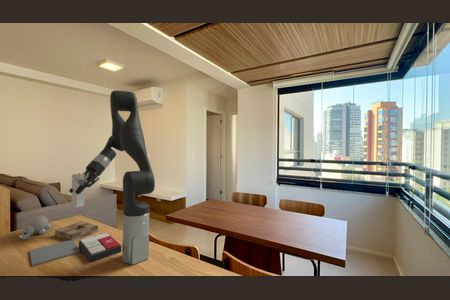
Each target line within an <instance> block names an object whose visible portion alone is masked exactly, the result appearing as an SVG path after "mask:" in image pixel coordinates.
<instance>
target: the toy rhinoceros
mask: <svg viewBox="0 0 450 300" xmlns="http://www.w3.org/2000/svg"><path fill="white" fill-rule="evenodd" d="M51 228H52V224H51V223H49V220H48V218H47V217H46V216H45V215H43V214H42V215H41V214H39V215H38V214H37V215H34V216H32V217H30V219H28V221H27V224H26V226H25V227H20V229H21V231H20V232H21V234H19V238H20V239H22V240H23V241H25V240H28V239H29V238H30V236H31V235H37V234H38V235H40V236H41V235H44V234H45V233H46V232H47V230H50V229H51Z"/></svg>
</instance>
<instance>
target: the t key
mask: <svg viewBox="0 0 450 300" xmlns="http://www.w3.org/2000/svg"><path fill="white" fill-rule="evenodd" d="M81 174H82V173H81ZM81 174H80V173H78V174H77V173H75V174H74V173H73V174H71V188H72V193H71V207H72V208H76V209H78V208H81V207H85V200H86V199H85V195H86V194H85V193H86V192H85V191H86V190H85V189H86V188H85V189H84V190H83V191H82V192H81V193H80V194H76V193H75V191H76V190H77V189H78V188H79V187H80V185H81V184H82V183H83V182H84V179H85V175H81ZM81 186H82V185H81Z"/></svg>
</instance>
